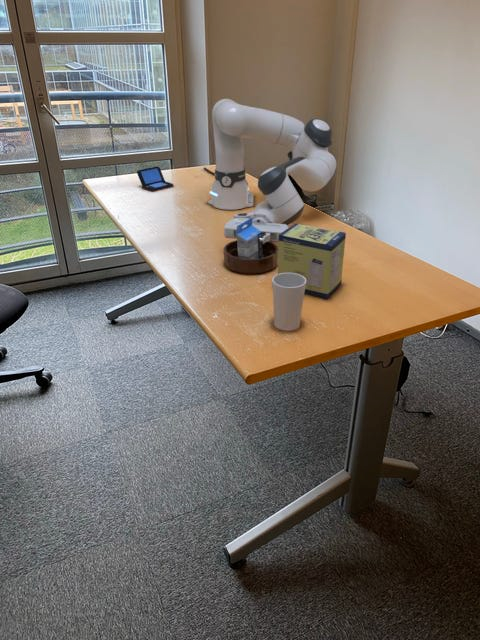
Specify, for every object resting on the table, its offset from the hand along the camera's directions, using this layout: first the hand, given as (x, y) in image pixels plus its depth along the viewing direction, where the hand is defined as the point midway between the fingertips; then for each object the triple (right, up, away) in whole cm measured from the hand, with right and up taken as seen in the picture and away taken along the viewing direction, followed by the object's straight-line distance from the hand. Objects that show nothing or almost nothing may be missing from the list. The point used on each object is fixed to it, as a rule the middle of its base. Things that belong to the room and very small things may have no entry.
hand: (251, 240), depth 151 cm
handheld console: (-41, +36, +76) cm, 94 cm away
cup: (+8, -25, -27) cm, 38 cm away
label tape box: (0, -6, +3) cm, 7 cm away
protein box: (+16, -14, -10) cm, 23 cm away
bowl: (0, -7, +3) cm, 7 cm away
